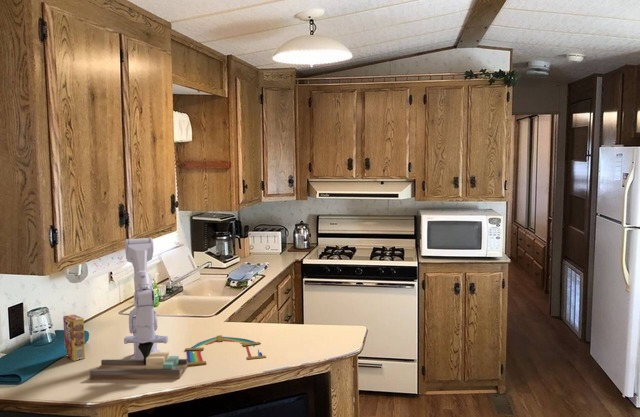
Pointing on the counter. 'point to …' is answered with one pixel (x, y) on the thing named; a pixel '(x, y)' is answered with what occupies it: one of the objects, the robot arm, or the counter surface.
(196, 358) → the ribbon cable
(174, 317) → the counter surface
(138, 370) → the guide track
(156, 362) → the beige box
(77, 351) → the candy box
